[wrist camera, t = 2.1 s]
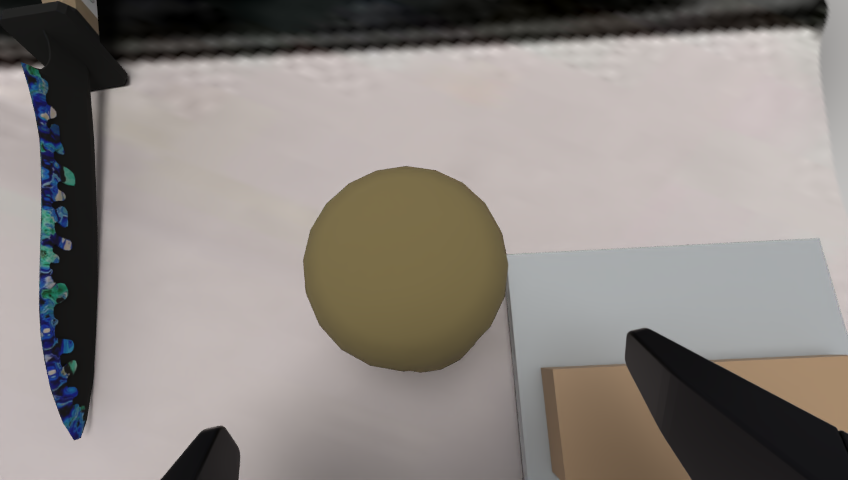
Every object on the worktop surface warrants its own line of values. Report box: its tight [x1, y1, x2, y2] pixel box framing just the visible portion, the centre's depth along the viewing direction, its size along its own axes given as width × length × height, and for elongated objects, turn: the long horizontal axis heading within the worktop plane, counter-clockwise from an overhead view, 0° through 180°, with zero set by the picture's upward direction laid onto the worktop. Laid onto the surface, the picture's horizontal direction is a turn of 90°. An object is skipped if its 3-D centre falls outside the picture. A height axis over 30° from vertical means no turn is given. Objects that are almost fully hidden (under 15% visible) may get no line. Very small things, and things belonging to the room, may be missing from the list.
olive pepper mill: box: [303, 166, 508, 372], centre depth 15 cm, size 6×6×11 cm
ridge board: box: [506, 238, 848, 480], centre depth 17 cm, size 14×14×3 cm
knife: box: [0, 0, 127, 440], centre depth 21 cm, size 31×3×4 cm, turn 6°
